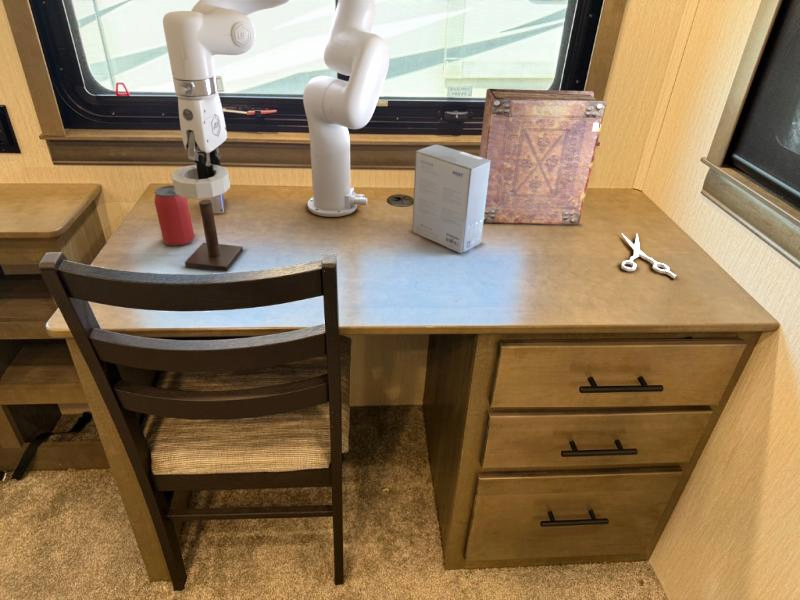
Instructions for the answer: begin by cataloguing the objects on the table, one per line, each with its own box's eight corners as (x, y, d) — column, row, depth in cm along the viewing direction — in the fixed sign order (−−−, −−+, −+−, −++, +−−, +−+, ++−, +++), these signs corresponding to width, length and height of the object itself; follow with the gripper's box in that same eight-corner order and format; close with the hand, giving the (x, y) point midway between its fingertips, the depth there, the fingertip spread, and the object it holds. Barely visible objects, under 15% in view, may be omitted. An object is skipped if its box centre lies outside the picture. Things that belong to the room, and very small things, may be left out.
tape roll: (237, 180, 114) (235, 166, 112) (217, 200, 105) (214, 185, 104) (189, 176, 115) (186, 162, 113) (164, 196, 106) (161, 181, 105)
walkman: (213, 201, 143) (205, 155, 137) (224, 200, 144) (217, 155, 137) (211, 214, 137) (203, 167, 130) (223, 213, 138) (216, 166, 131)
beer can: (185, 248, 122) (174, 198, 115) (157, 245, 123) (145, 194, 116) (200, 235, 127) (190, 186, 121) (173, 232, 128) (163, 182, 122)
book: (568, 209, 146) (594, 91, 129) (578, 225, 138) (608, 101, 122) (472, 207, 145) (486, 88, 128) (477, 223, 138) (493, 98, 121)
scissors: (625, 271, 119) (606, 228, 135) (624, 274, 119) (605, 231, 135) (676, 275, 118) (651, 232, 134) (675, 278, 118) (650, 235, 135)
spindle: (243, 251, 122) (235, 195, 115) (226, 271, 115) (217, 213, 107) (204, 247, 123) (193, 191, 116) (185, 267, 116) (173, 209, 108)
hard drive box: (482, 243, 129) (492, 160, 117) (461, 255, 124) (471, 169, 113) (431, 222, 137) (436, 142, 126) (410, 231, 133) (414, 150, 121)
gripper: (195, 98, 96) (212, 198, 106) (232, 78, 109) (243, 168, 120) (154, 95, 97) (174, 194, 107) (196, 75, 110) (210, 165, 120)
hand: (211, 179), depth 113 cm, fingers closed on tape roll, 2 cm apart
